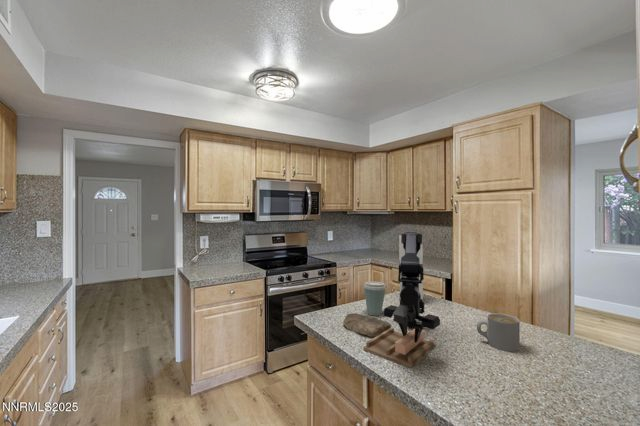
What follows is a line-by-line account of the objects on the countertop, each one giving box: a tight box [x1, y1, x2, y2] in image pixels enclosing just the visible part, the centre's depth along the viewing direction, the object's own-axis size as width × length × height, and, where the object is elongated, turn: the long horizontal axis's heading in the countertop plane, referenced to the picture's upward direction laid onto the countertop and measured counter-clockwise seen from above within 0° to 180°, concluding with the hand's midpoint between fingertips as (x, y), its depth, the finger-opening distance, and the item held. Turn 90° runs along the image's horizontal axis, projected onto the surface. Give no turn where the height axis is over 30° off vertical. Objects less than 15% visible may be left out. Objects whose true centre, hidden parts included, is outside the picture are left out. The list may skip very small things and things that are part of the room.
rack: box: [363, 330, 437, 369], centre depth 107 cm, size 20×18×1 cm
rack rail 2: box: [408, 338, 435, 363], centre depth 102 cm, size 18×1×2 cm, turn 137°
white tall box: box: [398, 235, 424, 301], centre depth 161 cm, size 11×11×35 cm
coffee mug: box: [476, 312, 521, 353], centre depth 110 cm, size 13×10×10 cm
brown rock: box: [342, 313, 393, 338], centre depth 126 cm, size 14×5×20 cm
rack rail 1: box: [365, 326, 395, 348], centre depth 113 cm, size 18×1×2 cm, turn 137°
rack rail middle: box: [386, 344, 395, 355], centre depth 107 cm, size 18×1×2 cm, turn 137°
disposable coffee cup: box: [363, 281, 387, 317], centre depth 142 cm, size 11×11×15 cm
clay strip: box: [395, 329, 426, 355], centre depth 104 cm, size 16×4×3 cm, turn 138°
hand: (410, 340), depth 104 cm, fingers closed on clay strip, 4 cm apart
